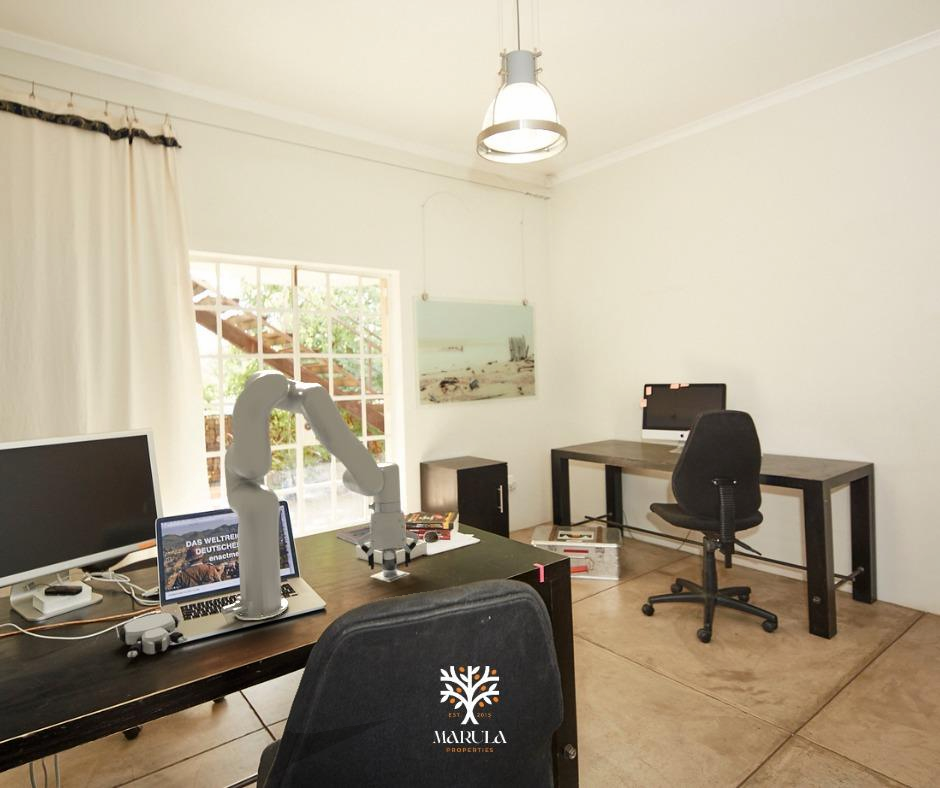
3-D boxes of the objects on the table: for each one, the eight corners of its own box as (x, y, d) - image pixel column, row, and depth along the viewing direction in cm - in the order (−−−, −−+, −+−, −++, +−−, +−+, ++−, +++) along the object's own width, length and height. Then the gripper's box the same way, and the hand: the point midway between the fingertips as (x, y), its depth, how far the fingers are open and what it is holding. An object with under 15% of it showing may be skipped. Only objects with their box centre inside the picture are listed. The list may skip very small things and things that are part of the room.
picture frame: (387, 527, 223) (336, 538, 209) (387, 520, 222) (336, 531, 208) (412, 535, 210) (359, 548, 196) (411, 528, 210) (359, 540, 196)
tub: (390, 569, 171) (390, 554, 171) (356, 560, 181) (355, 546, 181) (426, 555, 183) (426, 541, 183) (392, 547, 193) (392, 534, 193)
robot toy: (191, 651, 125) (175, 624, 137) (190, 631, 125) (175, 606, 137) (126, 671, 118) (115, 641, 129) (125, 650, 117) (114, 621, 129)
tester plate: (389, 585, 158) (389, 581, 158) (370, 579, 163) (369, 576, 163) (410, 576, 164) (410, 573, 164) (390, 571, 169) (390, 567, 169)
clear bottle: (389, 578, 161) (388, 547, 160) (379, 575, 163) (378, 544, 163) (400, 574, 164) (399, 543, 164) (390, 571, 167) (389, 541, 166)
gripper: (355, 511, 158) (357, 573, 159) (418, 508, 160) (420, 569, 161) (357, 505, 166) (359, 564, 166) (417, 502, 168) (420, 560, 168)
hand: (389, 566), depth 164 cm, fingers open, 9 cm apart
